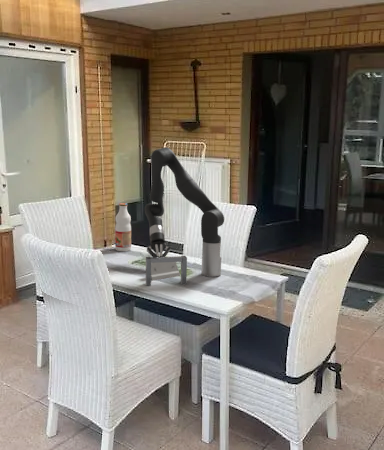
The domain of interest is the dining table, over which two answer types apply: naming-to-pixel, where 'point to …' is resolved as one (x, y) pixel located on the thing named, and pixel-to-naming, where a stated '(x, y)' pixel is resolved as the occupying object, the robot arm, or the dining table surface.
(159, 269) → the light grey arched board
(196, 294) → the dining table surface
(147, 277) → the bar
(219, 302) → the dining table surface
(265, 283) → the dining table surface
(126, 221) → the fruit juice
